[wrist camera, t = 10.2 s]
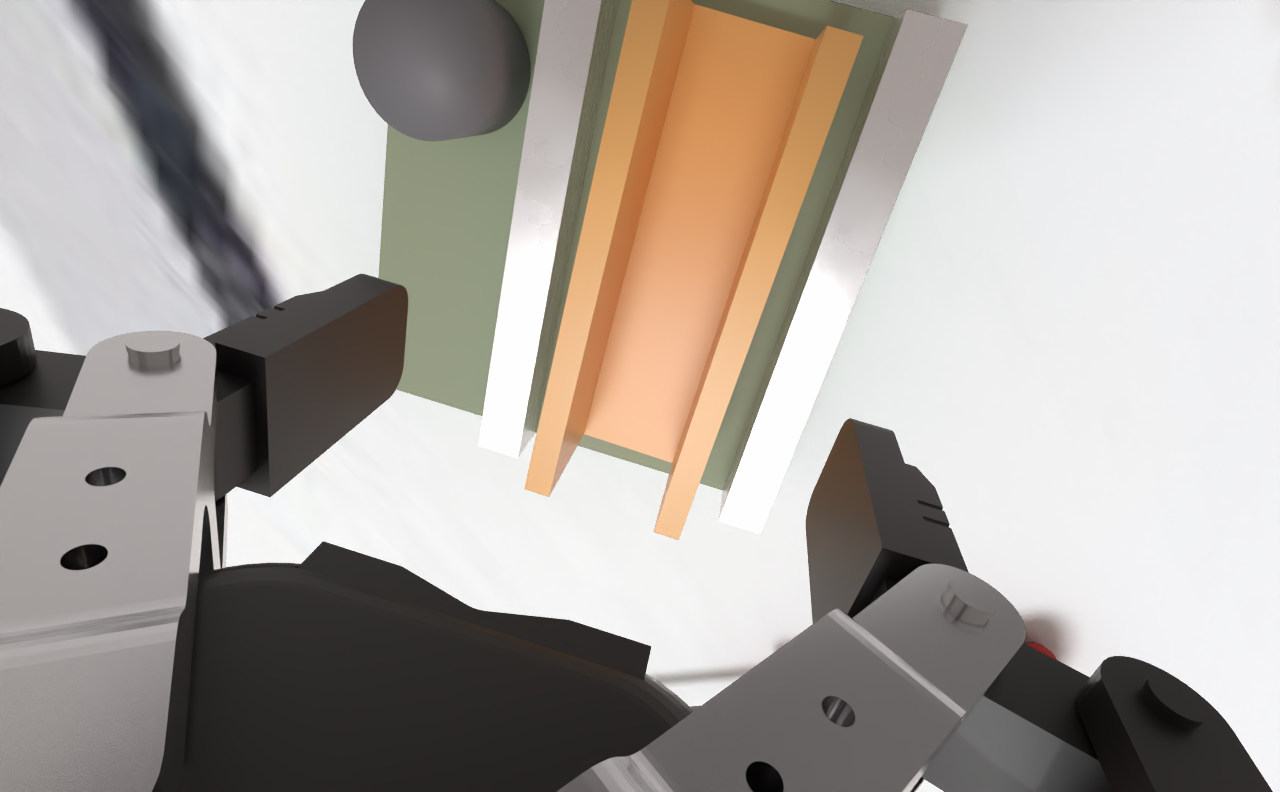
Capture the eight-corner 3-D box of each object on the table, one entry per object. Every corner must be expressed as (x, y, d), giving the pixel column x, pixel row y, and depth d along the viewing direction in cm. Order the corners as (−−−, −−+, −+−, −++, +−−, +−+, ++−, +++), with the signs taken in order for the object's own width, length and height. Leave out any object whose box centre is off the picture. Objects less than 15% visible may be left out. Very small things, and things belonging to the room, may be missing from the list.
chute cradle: (577, -65, 18) (557, -82, 17) (948, 31, 18) (968, 25, 16) (498, 421, 26) (478, 446, 24) (761, 502, 25) (760, 533, 23)
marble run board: (448, -86, 21) (340, -145, 16) (933, 41, 20) (990, 24, 15) (410, 354, 29) (326, 415, 23) (768, 463, 28) (766, 553, 22)
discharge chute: (671, -1, 19) (638, -29, 14) (842, 49, 18) (863, 35, 14) (568, 417, 25) (524, 488, 20) (695, 458, 25) (678, 540, 20)
